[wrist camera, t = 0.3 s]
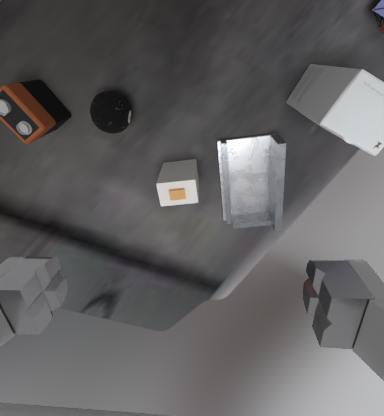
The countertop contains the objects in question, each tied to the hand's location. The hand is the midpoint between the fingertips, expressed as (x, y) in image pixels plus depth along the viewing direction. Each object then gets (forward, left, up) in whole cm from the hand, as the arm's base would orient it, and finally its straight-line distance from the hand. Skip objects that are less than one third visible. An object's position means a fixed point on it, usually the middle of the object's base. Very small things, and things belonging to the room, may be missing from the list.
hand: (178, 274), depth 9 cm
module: (+12, -4, -39) cm, 41 cm away
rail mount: (+15, +8, -39) cm, 42 cm away
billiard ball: (0, -13, -39) cm, 41 cm away
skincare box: (+2, +19, -39) cm, 43 cm away
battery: (-2, -24, -39) cm, 46 cm away
